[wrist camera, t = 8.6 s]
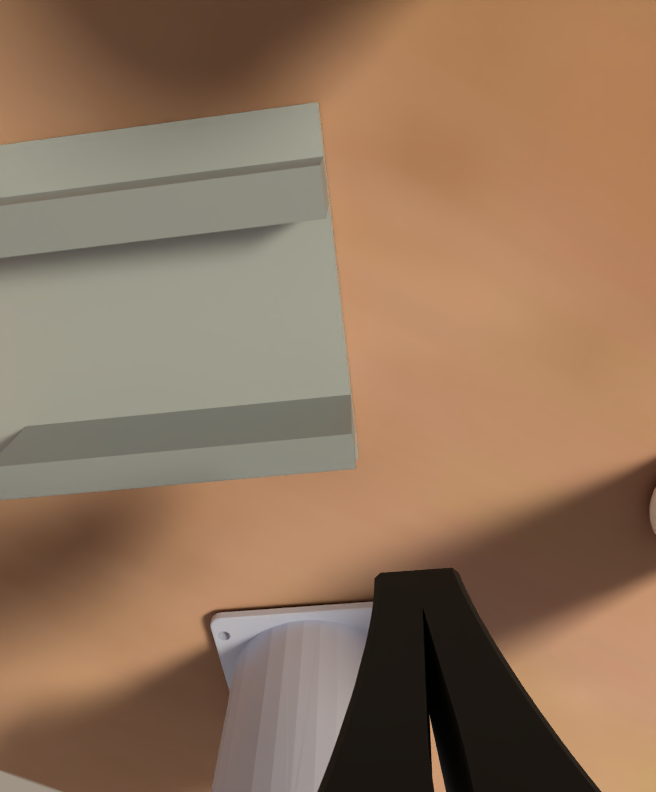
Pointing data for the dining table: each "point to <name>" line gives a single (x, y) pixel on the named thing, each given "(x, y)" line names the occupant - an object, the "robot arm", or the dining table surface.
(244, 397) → the chute
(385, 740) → the robot arm
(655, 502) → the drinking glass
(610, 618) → the dining table surface
